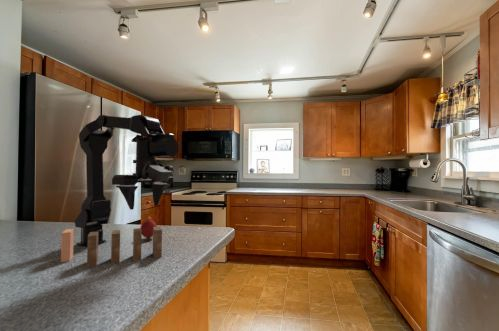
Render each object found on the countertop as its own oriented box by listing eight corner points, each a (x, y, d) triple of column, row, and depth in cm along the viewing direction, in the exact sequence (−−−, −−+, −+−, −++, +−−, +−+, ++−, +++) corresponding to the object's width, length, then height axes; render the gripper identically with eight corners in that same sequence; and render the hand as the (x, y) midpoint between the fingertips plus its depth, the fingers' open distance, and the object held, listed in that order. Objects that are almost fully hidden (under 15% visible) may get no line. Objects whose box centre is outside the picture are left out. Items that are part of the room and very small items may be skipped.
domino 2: (111, 263, 69) (111, 234, 69) (111, 258, 74) (112, 230, 74) (119, 262, 70) (119, 233, 70) (119, 257, 74) (120, 229, 75)
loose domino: (60, 262, 70) (61, 233, 70) (64, 256, 75) (65, 229, 75) (69, 261, 71) (70, 232, 71) (73, 255, 75) (73, 228, 76)
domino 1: (87, 267, 67) (87, 236, 67) (89, 261, 71) (90, 232, 71) (95, 265, 68) (96, 235, 68) (97, 260, 72) (98, 231, 72)
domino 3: (133, 261, 72) (133, 232, 72) (133, 255, 76) (133, 228, 76) (141, 260, 72) (141, 231, 73) (140, 254, 77) (140, 228, 77)
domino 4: (154, 258, 74) (154, 230, 74) (152, 253, 78) (153, 227, 79) (161, 257, 75) (162, 229, 75) (159, 252, 79) (160, 226, 79)
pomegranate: (151, 241, 92) (151, 218, 92) (136, 240, 93) (137, 218, 93) (159, 237, 98) (160, 216, 98) (146, 236, 99) (146, 215, 99)
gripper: (139, 154, 67) (137, 214, 67) (186, 158, 84) (185, 206, 83) (111, 155, 72) (109, 210, 72) (161, 158, 89) (160, 203, 88)
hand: (144, 207), depth 79 cm, fingers open, 9 cm apart
